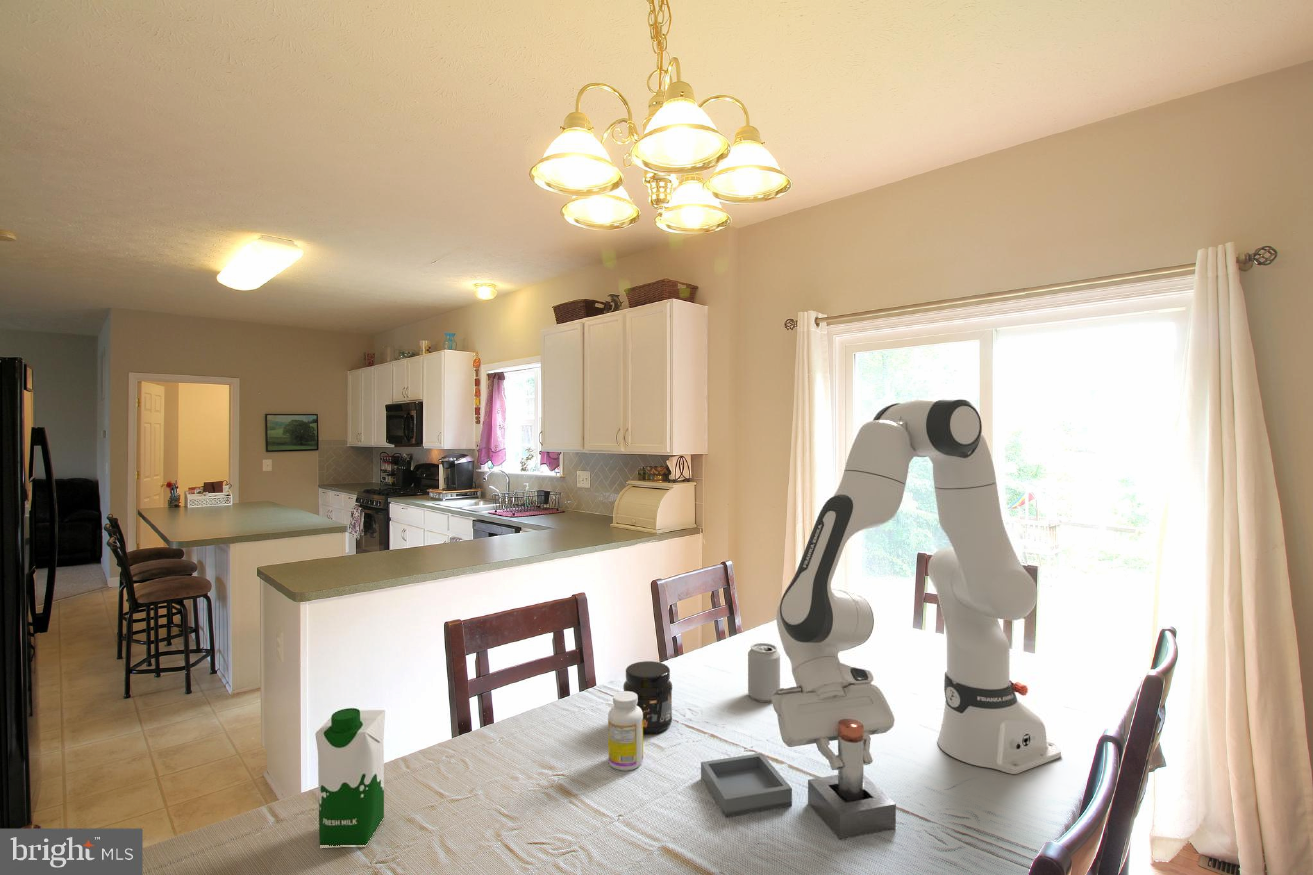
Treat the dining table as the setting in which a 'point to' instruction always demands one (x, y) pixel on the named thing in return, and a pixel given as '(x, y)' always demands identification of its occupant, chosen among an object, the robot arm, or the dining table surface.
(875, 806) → the socket
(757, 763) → the tray
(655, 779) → the dining table surface
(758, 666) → the can
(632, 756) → the supplement bottle
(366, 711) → the milk carton
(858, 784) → the pin
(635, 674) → the supplement container
